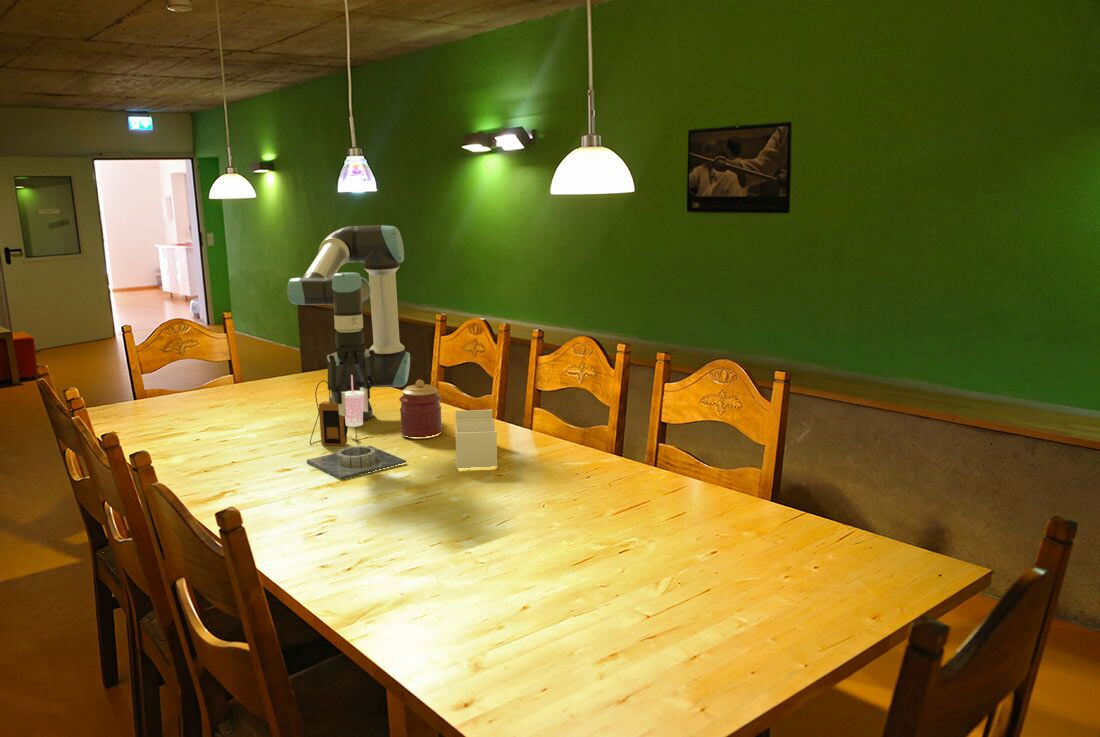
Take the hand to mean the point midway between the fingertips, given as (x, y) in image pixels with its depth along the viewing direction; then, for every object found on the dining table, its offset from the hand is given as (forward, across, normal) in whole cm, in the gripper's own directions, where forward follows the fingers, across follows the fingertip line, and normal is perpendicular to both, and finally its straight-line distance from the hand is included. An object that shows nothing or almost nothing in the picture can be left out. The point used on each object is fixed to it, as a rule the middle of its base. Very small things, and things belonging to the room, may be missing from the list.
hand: (353, 412), depth 227 cm
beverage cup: (+3, 0, 0) cm, 3 cm away
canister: (+15, +30, +13) cm, 36 cm away
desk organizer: (+15, +28, -18) cm, 37 cm away
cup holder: (+15, 0, 0) cm, 15 cm away
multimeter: (+15, +7, +24) cm, 29 cm away
